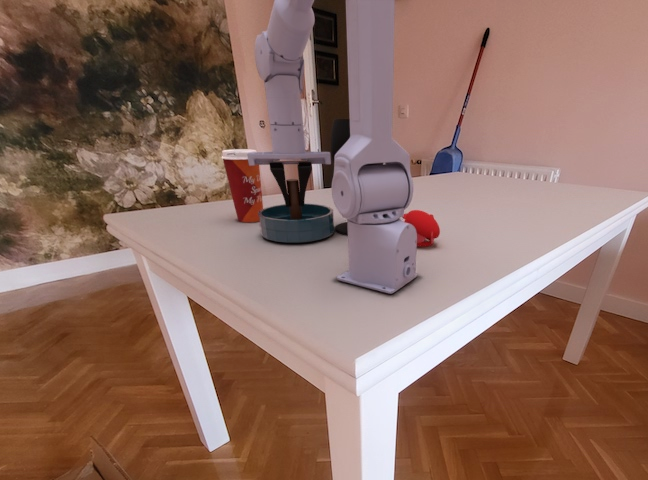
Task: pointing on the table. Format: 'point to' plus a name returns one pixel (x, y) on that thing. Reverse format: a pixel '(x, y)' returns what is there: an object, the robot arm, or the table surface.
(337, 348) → the table surface
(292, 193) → the stirrer
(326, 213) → the bowl
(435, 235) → the cap
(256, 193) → the paper cup
